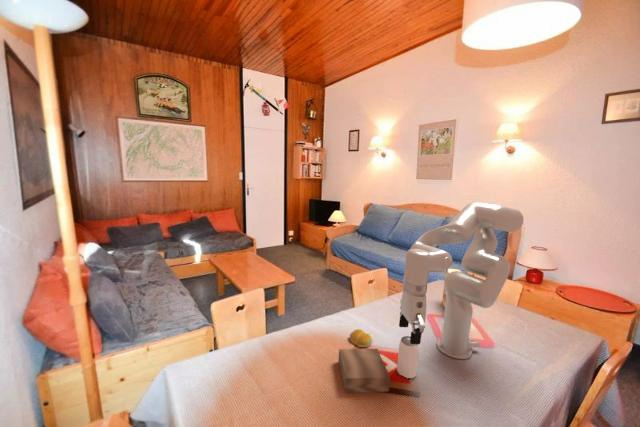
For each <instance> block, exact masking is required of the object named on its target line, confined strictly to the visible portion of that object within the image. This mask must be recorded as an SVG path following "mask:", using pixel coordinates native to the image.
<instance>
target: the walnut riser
mask: <svg viewBox="0 0 640 427" xmlns="http://www.w3.org/2000/svg"><path fill="white" fill-rule="evenodd" d="M382 358H383V357H382V356H381V354H380V352H379V350H378V348H341V349H339V350H338V366H339V372H340V376H341V380H342V385H343V390H344V393H345V394H346V393H347V394H349V393H381V392H385V393H386V392H389V391H390V383H391V382H390V380H391V377H390V374H389V373H388V370H387V368H386V365H385V364H384V361H383V359H382Z"/></svg>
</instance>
